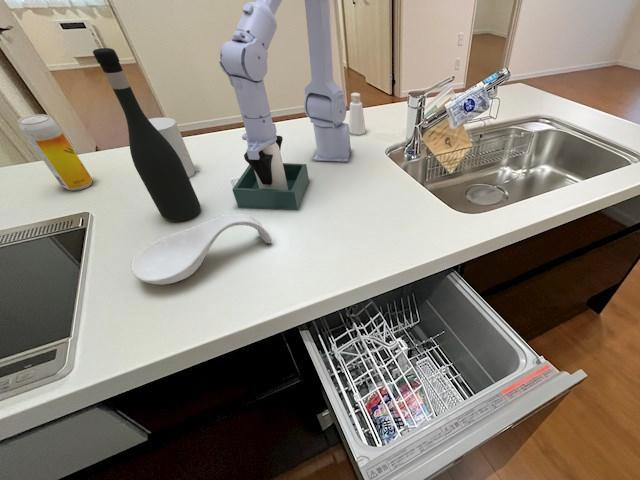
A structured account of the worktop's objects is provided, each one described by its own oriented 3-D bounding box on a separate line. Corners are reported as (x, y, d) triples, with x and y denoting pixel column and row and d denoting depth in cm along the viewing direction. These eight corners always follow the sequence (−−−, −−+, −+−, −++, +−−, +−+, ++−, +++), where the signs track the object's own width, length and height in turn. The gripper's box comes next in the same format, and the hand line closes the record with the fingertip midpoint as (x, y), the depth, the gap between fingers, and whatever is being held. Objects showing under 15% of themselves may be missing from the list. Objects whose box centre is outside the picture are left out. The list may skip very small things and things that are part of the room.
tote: (309, 180, 89) (306, 163, 85) (297, 209, 79) (294, 192, 76) (255, 178, 88) (251, 161, 85) (238, 207, 79) (232, 189, 76)
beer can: (100, 182, 84) (58, 116, 73) (77, 193, 80) (29, 126, 69) (81, 177, 85) (37, 111, 75) (57, 188, 81) (7, 121, 71)
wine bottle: (158, 210, 77) (70, 46, 55) (196, 199, 80) (126, 42, 59) (167, 227, 73) (75, 58, 51) (206, 216, 76) (136, 52, 54)
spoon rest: (149, 304, 58) (126, 273, 53) (133, 267, 64) (111, 235, 59) (280, 252, 69) (272, 221, 63) (256, 224, 75) (246, 194, 70)
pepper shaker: (345, 132, 111) (342, 94, 103) (355, 127, 114) (353, 89, 106) (359, 136, 109) (357, 97, 101) (369, 131, 112) (368, 93, 104)
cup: (201, 173, 89) (181, 124, 80) (169, 184, 85) (144, 133, 76) (187, 162, 93) (166, 114, 84) (155, 172, 88) (130, 123, 80)
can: (292, 186, 85) (281, 136, 77) (283, 199, 81) (271, 148, 72) (266, 183, 86) (253, 134, 77) (256, 197, 81) (241, 146, 73)
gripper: (247, 101, 76) (263, 161, 85) (223, 126, 66) (244, 191, 76) (279, 102, 76) (291, 162, 86) (260, 128, 66) (276, 192, 76)
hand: (271, 176), depth 81 cm, fingers closed on can, 6 cm apart
